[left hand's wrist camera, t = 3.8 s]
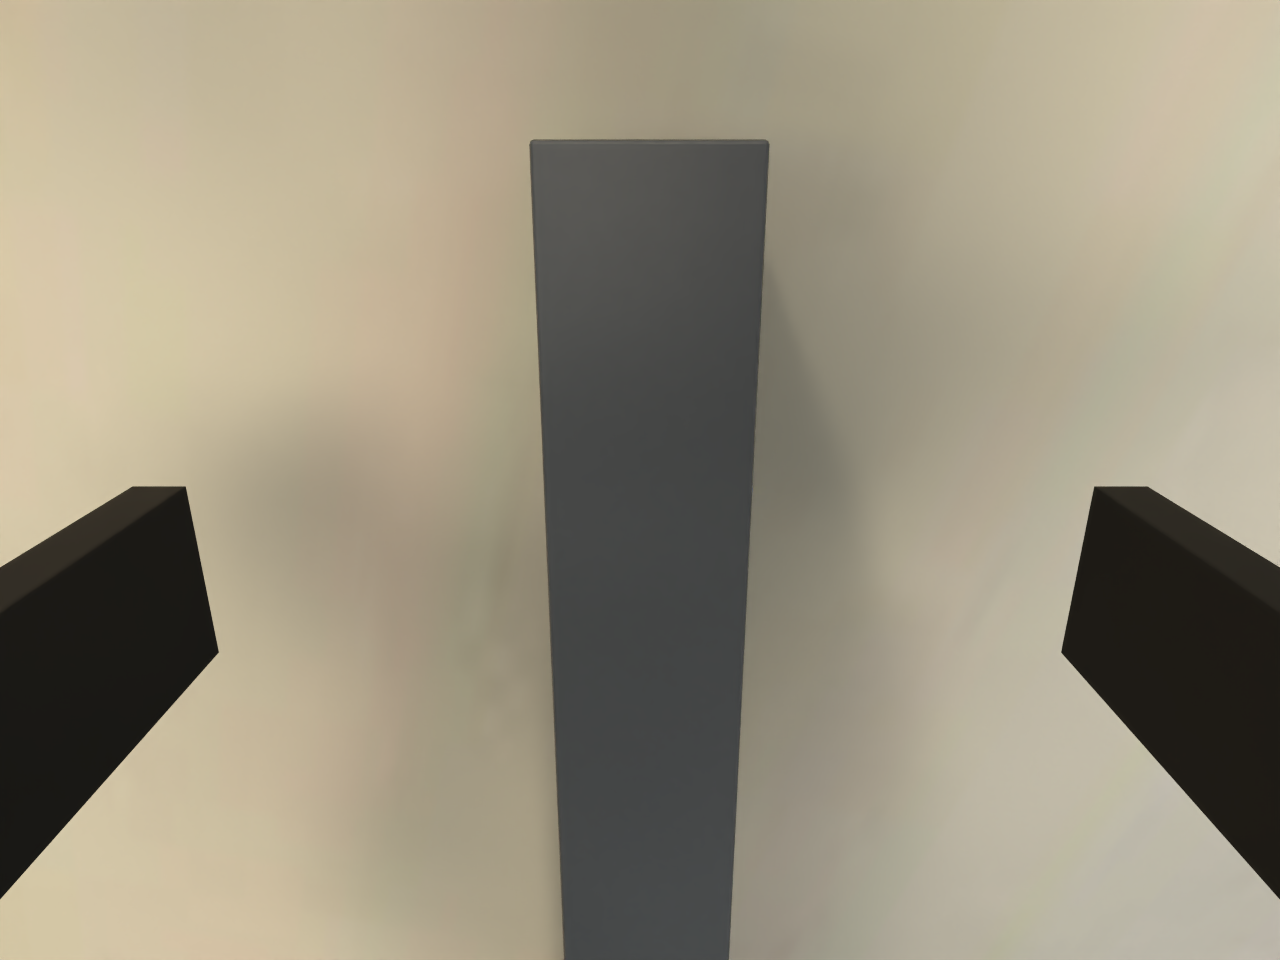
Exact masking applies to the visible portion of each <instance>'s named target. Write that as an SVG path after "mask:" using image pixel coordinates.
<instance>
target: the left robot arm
mask: <svg viewBox="0 0 1280 960" xmlns="http://www.w3.org/2000/svg"><path fill="white" fill-rule="evenodd" d="M218 653H219V651H218V646H217V641H216V636H215V631H214V626H213V621H212V616H211V611H210V606H209V601H208V596H207V591H206V586H205V581H204V576H203V571H202V566H201V561H200V556H199V551H198V546H197V541H196V536H195V531H194V526H193V521H192V516H191V511H190V506H189V501H188V496H187V491H186V487H131V488H129V489H128V490H126V491H125V492H123V493H121V494H120V495H118V496H116V497H115V498H113V499H111V500H110V501H108V502H107V503H105V504H103V505H102V506H100V507H98V508H97V509H95V510H93V511H92V512H90V513H89V514H87V515H85V516H84V517H82V518H80V519H79V520H77V521H75V522H74V523H72V524H71V525H69V526H67V527H66V528H64V529H62V530H61V531H59V532H57V533H56V534H54V535H53V536H51V537H49V538H48V539H46V540H44V541H43V542H41V543H39V544H38V545H36V546H35V547H33V548H31V549H30V550H28V551H26V552H25V553H23V554H21V555H20V556H18V557H17V558H15V559H13V560H12V561H10V562H8V563H7V564H5V565H3V566H2V567H0V899H1V898H2V897H3V896H4V894H5V893H6V892H7V891H8V890H9V889H10V888H11V886H12V885H13V884H14V883H15V882H16V881H17V880H18V879H19V877H20V876H21V875H22V874H23V873H24V872H25V871H26V870H27V868H28V867H29V866H30V865H31V864H32V863H33V862H34V860H35V859H36V858H37V857H38V856H39V855H40V854H41V853H42V851H43V850H44V849H45V848H46V847H47V846H48V845H49V844H50V842H51V841H52V840H53V839H54V838H55V837H56V836H57V835H58V833H59V832H60V831H61V830H62V829H63V828H64V827H65V825H66V824H67V823H68V822H69V821H70V820H71V819H72V818H73V816H74V815H75V814H76V813H77V812H78V811H79V810H80V809H81V807H82V806H83V805H84V804H85V803H86V802H87V801H88V799H89V798H90V797H91V796H92V795H93V794H94V793H95V792H96V790H97V789H98V788H99V787H100V786H101V785H102V784H103V783H104V781H105V780H106V779H107V778H108V777H109V776H110V775H111V774H112V772H113V771H114V770H115V769H116V768H117V767H118V766H119V764H120V763H121V762H122V761H123V760H124V759H125V758H126V757H127V755H128V754H129V753H130V752H131V751H132V750H133V749H134V748H135V746H136V745H137V744H138V743H139V742H140V741H141V740H142V738H143V737H144V736H145V735H146V734H147V733H148V732H149V731H150V729H151V728H152V727H153V726H154V725H155V724H156V723H157V722H158V720H159V719H160V718H161V717H162V716H163V715H164V714H165V713H166V711H167V710H168V709H169V708H170V707H171V706H172V705H173V703H174V702H175V701H176V700H177V699H178V698H179V697H180V696H181V694H182V693H183V692H184V691H185V690H186V689H187V688H188V687H189V685H190V684H191V683H192V682H193V681H194V680H195V679H196V678H197V676H198V675H199V674H200V673H201V672H202V671H203V670H204V668H205V667H206V666H207V665H208V664H209V663H210V662H211V661H212V659H213V658H214V657H215V656H216V655H217V654H218ZM1061 653H1062V654H1063V655H1064V656H1065V657H1066V658H1067V659H1068V661H1069V662H1070V663H1071V664H1072V665H1073V666H1074V667H1075V668H1076V670H1077V671H1078V672H1079V673H1080V674H1081V675H1082V676H1083V678H1084V679H1085V680H1086V681H1087V682H1088V683H1089V684H1090V685H1091V687H1092V688H1093V689H1094V690H1095V691H1096V692H1097V693H1098V694H1099V696H1100V697H1101V698H1102V699H1103V700H1104V701H1105V702H1106V703H1107V705H1108V706H1109V707H1110V708H1111V709H1112V710H1113V711H1114V713H1115V714H1116V715H1117V716H1118V717H1119V718H1120V719H1121V720H1122V722H1123V723H1124V724H1125V725H1126V726H1127V727H1128V728H1129V729H1130V731H1131V732H1132V733H1133V734H1134V735H1135V736H1136V737H1137V738H1138V740H1139V741H1140V742H1141V743H1142V744H1143V745H1144V746H1145V748H1146V749H1147V750H1148V751H1149V752H1150V753H1151V754H1152V755H1153V757H1154V758H1155V759H1156V760H1157V761H1158V762H1159V763H1160V764H1161V766H1162V767H1163V768H1164V769H1165V770H1166V771H1167V772H1168V774H1169V775H1170V776H1171V777H1172V778H1173V779H1174V780H1175V781H1176V783H1177V784H1178V785H1179V786H1180V787H1181V788H1182V789H1183V790H1184V792H1185V793H1186V794H1187V795H1188V796H1189V797H1190V798H1191V799H1192V801H1193V802H1194V803H1195V804H1196V805H1197V806H1198V807H1199V809H1200V810H1201V811H1202V812H1203V813H1204V814H1205V815H1206V816H1207V818H1208V819H1209V820H1210V821H1211V822H1212V823H1213V824H1214V825H1215V827H1216V828H1217V829H1218V830H1219V831H1220V832H1221V833H1222V835H1223V836H1224V837H1225V838H1226V839H1227V840H1228V841H1229V842H1230V844H1231V845H1232V846H1233V847H1234V848H1235V849H1236V850H1237V851H1238V853H1239V854H1240V855H1241V856H1242V857H1243V858H1244V859H1245V860H1246V862H1247V863H1248V864H1249V865H1250V866H1251V867H1252V868H1253V870H1254V871H1255V872H1256V873H1257V874H1258V875H1259V876H1260V877H1261V879H1262V880H1263V881H1264V882H1265V883H1266V884H1267V885H1268V886H1269V888H1270V889H1271V890H1272V891H1273V892H1274V893H1275V894H1276V896H1277V897H1278V898H1279V899H1280V567H1278V566H1277V565H1275V564H1273V563H1272V562H1270V561H1268V560H1267V559H1265V558H1263V557H1262V556H1260V555H1259V554H1257V553H1255V552H1254V551H1252V550H1250V549H1249V548H1247V547H1245V546H1244V545H1242V544H1241V543H1239V542H1237V541H1236V540H1234V539H1232V538H1231V537H1229V536H1227V535H1226V534H1224V533H1223V532H1221V531H1219V530H1218V529H1216V528H1214V527H1213V526H1211V525H1209V524H1208V523H1206V522H1205V521H1203V520H1201V519H1200V518H1198V517H1196V516H1195V515H1193V514H1191V513H1190V512H1188V511H1187V510H1185V509H1183V508H1182V507H1180V506H1178V505H1177V504H1175V503H1173V502H1172V501H1170V500H1169V499H1167V498H1165V497H1164V496H1162V495H1160V494H1159V493H1157V492H1155V491H1154V490H1152V489H1151V488H1149V487H1094V491H1093V496H1092V501H1091V506H1090V511H1089V516H1088V521H1087V526H1086V531H1085V536H1084V541H1083V546H1082V551H1081V556H1080V561H1079V566H1078V571H1077V576H1076V581H1075V586H1074V591H1073V596H1072V601H1071V606H1070V611H1069V616H1068V621H1067V626H1066V631H1065V636H1064V641H1063V646H1062V651H1061Z"/></svg>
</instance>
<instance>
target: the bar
mask: <svg viewBox="0 0 1280 960" xmlns="http://www.w3.org/2000/svg"><path fill="white" fill-rule="evenodd" d="M529 146H530V169H531V193H532V216H533V240H534V263H535V287H536V310H537V334H538V357H539V381H540V404H541V428H542V451H543V475H544V498H545V522H546V545H547V569H548V592H549V616H550V639H551V663H552V686H553V710H554V733H555V757H556V780H557V804H558V827H559V851H560V874H561V898H562V921H563V944H564V960H729V945H730V925H731V905H732V885H733V865H734V844H735V824H736V804H737V784H738V764H739V744H740V724H741V704H742V684H743V664H744V644H745V624H746V604H747V584H748V564H749V544H750V524H751V504H752V484H753V464H754V444H755V424H756V403H757V383H758V363H759V343H760V323H761V303H762V283H763V263H764V243H765V223H766V203H767V183H768V163H769V142H768V141H767V140H532V141H531V142H530V144H529Z"/></svg>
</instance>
